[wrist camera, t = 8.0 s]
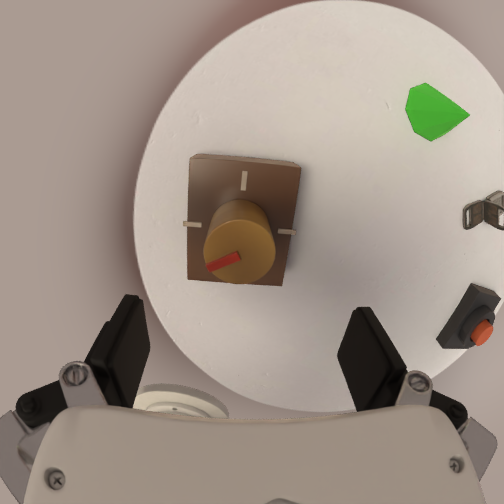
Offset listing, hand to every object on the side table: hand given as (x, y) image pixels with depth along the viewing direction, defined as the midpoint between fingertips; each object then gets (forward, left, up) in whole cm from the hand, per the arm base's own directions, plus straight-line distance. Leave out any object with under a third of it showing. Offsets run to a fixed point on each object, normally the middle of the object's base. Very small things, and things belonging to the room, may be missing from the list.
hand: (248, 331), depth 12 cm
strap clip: (+5, -28, -14) cm, 32 cm away
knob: (+1, 0, -11) cm, 11 cm away
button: (-11, -35, -10) cm, 38 cm away
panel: (+1, 0, -14) cm, 14 cm away
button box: (-11, -35, -14) cm, 39 cm away
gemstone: (+13, -16, -14) cm, 25 cm away
